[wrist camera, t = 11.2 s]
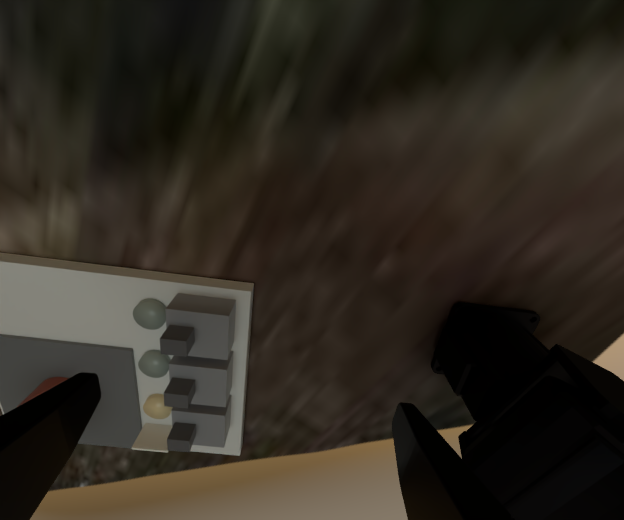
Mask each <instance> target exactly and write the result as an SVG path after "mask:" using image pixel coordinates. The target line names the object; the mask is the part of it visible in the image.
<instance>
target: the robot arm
mask: <svg viewBox="0 0 624 520" xmlns="http://www.w3.org/2000/svg"><path fill="white" fill-rule="evenodd" d="M460 308H463V309H462V310H460V311H458V310H459V309H460ZM532 317H533V318H532ZM531 318H532V319H531ZM539 321H540V316H539V315H538V314H537V313H536V312H534V311H528V310H520V309H512V308H504V307H496V306H487V305H479V304H471V303H463V302H459V303H456V304H455V305H454V306H453V308H452V310H451V313H450V316H449V318H448V321H447V324H446V326H445V328H444V329H443V331H442V333H441V336H440V339H439V341H438V344H437V347H436V349H435V352H434V355H435V356H434V358H433V361H432V364H431V368H432V370H433V372H434V373H437V374H445V376H446V378H447V380H448V382H449V384H450V385H451V387H452V389H453V391H454V393H455V394H456V395H457V396H461V397H462V399H463V400H464V402H465V404H466V406H467V408H468V410H469V411H470V413H471V415H472V417H473V419H474V420H475V421H477V422H476V423H475V424H474V425H473V426H472V427H470V428H469V429H468V430H467V431H464V432H463V433H462V434H460V435H459V437H458V438H459V444H460V449H461V455H462V459H461V458H460V457H459V455H458V454H457V453H456V452H455V451H454V450H453V448H452V447H451V446H450V445H449V444H448V443H447V442H446V441H445V439H443V437H442V436H441V435H440V434H439V433H438V431H437V430H436V429H435V428H434V427H433V426H432V425H431V424H430V422H429V421H428V420H427V419H426V418H425V417H424V416H423V415H422V413H421V412H420V411H419V410H418V409H417V408H416V407H415V406H414V405H413V404H411V403H402V402H401V403H399V404H398V406H397V409H396V412H395V415H394V418H393V421H392V431H393V438H394V446H395V453H396V460H397V468H398V475H399V481H400V487H401V491H402V496H403V500H404V504H405V509H406V513H407V517H408V520H624V381H623V380H621V379H620V378H619V377H618V376H616V375H615V374H613V373H612V372H610V371H608V370H606V369H604V368H602V367H600V366H598V365H597V364H595V363H593V362H591V361H589V360H587V359H585V358H583V357H581V356H579V355H577V354H575V353H574V352H572V351H570V350H568V349H566V348H564V347H562V346H560V345H558V344H556V345H555V346H553V347H552V348H551V349H550V350H548V349H547V348H546V347H545V346H544V345H543V344H542V343H541V342H540V341H539V340H538V339H537V338H536V337H535V336H534V335H532V334H533V332H534V330H535V328H536V327H537V325H538V323H539ZM438 366H440V367H438ZM437 367H438V368H437ZM100 399H101V388H100V383H99V378H98V375H97V374H96V373H91V372H80V373H78V374H76V375H74V376H72V377H70V378H69V379H67V380H65V381H63V382H61V383H60V384H58V385H56V386H54V387H52V388H51V389H49V390H47V391H45V392H43V393H42V394H40V395H38V396H36V397H34V398H32V399H31V400H29V401H27V402H25V403H23V404H22V405H20V406H18V407H16V408H14V409H13V410H11V411H9V412H7V413H5V414H4V415H2V416H0V520H30V518H31V517H32V515H33V513H34V512H35V510H36V509H37V507H38V506H39V504H40V503H41V501H42V500H43V498H44V497H45V495H46V494H47V492H48V490H49V489H50V487H51V486H52V484H53V483H54V481H55V480H56V478H57V477H58V475H59V474H60V472H61V470H62V469H63V467H64V466H65V464H66V463H67V461H68V459H69V458H70V456H71V454H72V453H73V451H74V449H75V447H76V445H77V444H78V442H79V440H80V438H81V436H82V434H83V432H84V430H85V428H86V427H87V425H88V423H89V421H90V419H91V417H92V415H93V413H94V411H95V409H96V408H97V406H98V404H99V402H100Z"/></svg>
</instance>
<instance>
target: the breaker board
mask: <svg viewBox="0 0 624 520" xmlns="http://www.w3.org/2000/svg"><path fill="white" fill-rule="evenodd" d="M253 292H254V283H247V282H238V281H230V280H222V279H214V278H206V277H197V276H189V275H181V274H173V273H165V272H157V271H148V270H140V269H132V268H124V267H116V266H107V265H99V264H91V263H83V262H75V261H67V260H58V259H50V258H42V257H34V256H26V255H17V254H9V253H1V252H0V408H1V410H2V413H3V415H4V414H5V413H7V412H9V411H11V410H13V409H14V408H16V407H17V406H18V405H19V404H20V403H21V402H22V401H23V400H24V399H25V398H26V397H27V396H28V395H30V394H31V393H32V392H33V391H34V390H35V389H36V388H37V387H38V386H39V385H40V384H41V383H42V382H43V381H44V380H46V379H48V378H52V377H66V378H70V377H72V376H74V375H76V374H78V373H80V372H91V373H96V374H97V375H98V378H99V383H100V388H101V399H100V402H99V404H98V406H97V408H96V409H95V411H94V413H93V415H92V417H91V419H90V421H89V423H88V425H87V427H86V428H85V430H84V432H83V434H82V436H81V438H80V440H79V442H78V443H79V444H90V445H101V446H112V447H123V448H132V449H135V450H146V451H157V452H168V451H169V450H171V451H182V452H190V451H195V452H206V453H217V454H228V455H238V456H240V453H241V448H242V444H243V430H244V417H245V403H246V389H247V375H248V361H249V347H250V334H251V320H252V306H253Z"/></svg>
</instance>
